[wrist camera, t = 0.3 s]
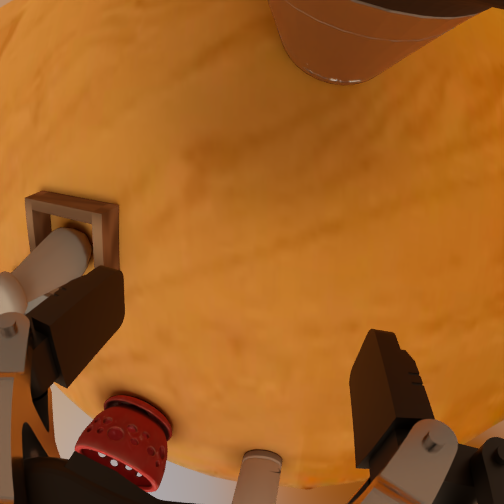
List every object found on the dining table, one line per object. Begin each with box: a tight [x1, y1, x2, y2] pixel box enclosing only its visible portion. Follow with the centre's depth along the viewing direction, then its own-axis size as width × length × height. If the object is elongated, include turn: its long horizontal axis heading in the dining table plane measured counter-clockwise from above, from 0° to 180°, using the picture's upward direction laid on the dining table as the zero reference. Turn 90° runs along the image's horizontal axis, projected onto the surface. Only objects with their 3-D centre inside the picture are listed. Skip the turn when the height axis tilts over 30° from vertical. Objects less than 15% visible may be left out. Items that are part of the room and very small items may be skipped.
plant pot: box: [75, 395, 172, 492], centre depth 37 cm, size 13×13×12 cm
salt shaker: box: [0, 227, 93, 314], centre depth 26 cm, size 6×6×13 cm
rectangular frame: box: [25, 191, 120, 294], centre depth 30 cm, size 11×11×3 cm
